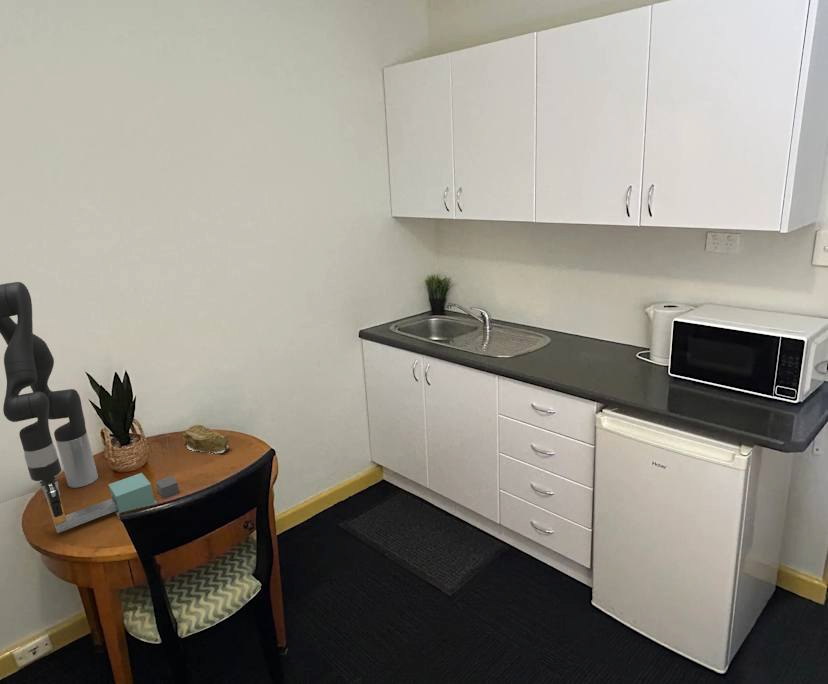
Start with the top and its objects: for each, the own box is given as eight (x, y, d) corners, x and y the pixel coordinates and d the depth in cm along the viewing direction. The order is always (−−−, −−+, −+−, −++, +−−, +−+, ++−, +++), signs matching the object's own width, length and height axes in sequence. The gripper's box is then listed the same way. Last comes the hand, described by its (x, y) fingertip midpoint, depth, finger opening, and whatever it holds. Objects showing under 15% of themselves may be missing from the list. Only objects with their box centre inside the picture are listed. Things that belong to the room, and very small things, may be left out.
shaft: (55, 527, 171) (45, 493, 168) (133, 497, 184) (126, 465, 181) (57, 533, 168) (47, 498, 165) (137, 502, 181) (129, 470, 178)
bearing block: (111, 505, 184) (106, 484, 181) (147, 491, 190) (143, 471, 188) (120, 519, 175) (114, 498, 173) (157, 505, 182) (153, 484, 180)
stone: (238, 446, 217) (235, 430, 215) (217, 459, 209) (214, 442, 207) (199, 436, 228) (196, 421, 226) (178, 448, 220) (174, 432, 218)
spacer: (155, 481, 189) (171, 475, 191) (158, 492, 190) (173, 486, 193) (161, 488, 184) (177, 482, 187) (163, 499, 185) (179, 493, 188)
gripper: (23, 456, 167) (39, 508, 172) (30, 474, 156) (46, 529, 162) (53, 447, 171) (67, 498, 177) (61, 463, 161) (76, 517, 166)
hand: (57, 512), depth 169 cm, fingers closed on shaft, 3 cm apart
